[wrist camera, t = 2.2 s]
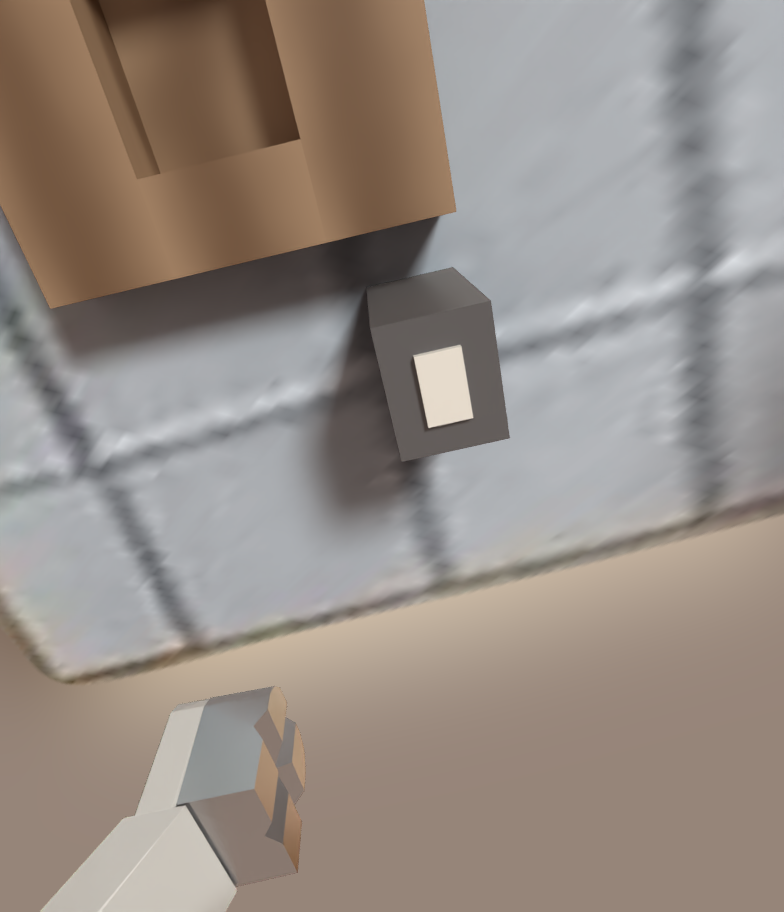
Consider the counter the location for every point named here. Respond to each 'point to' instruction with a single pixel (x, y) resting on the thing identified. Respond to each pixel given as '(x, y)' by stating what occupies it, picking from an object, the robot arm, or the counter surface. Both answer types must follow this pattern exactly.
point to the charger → (438, 363)
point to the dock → (210, 133)
